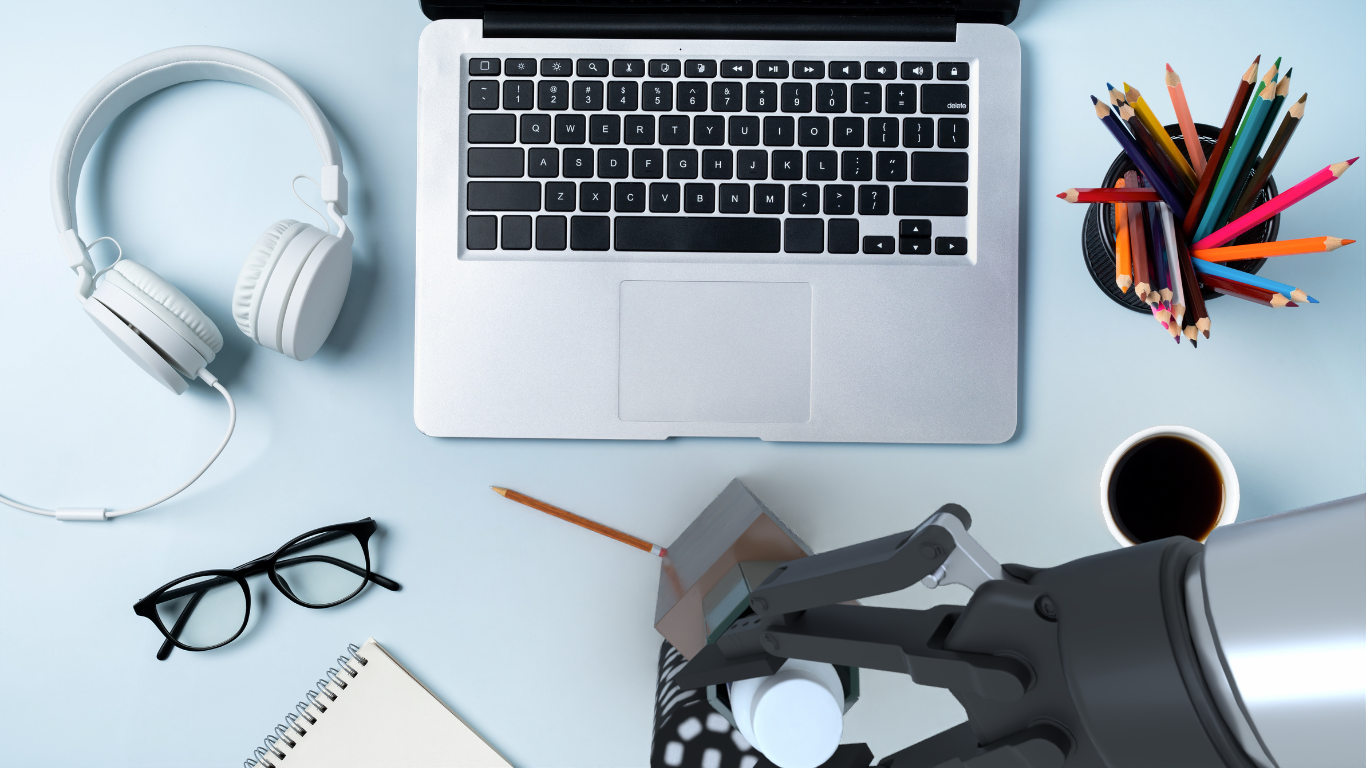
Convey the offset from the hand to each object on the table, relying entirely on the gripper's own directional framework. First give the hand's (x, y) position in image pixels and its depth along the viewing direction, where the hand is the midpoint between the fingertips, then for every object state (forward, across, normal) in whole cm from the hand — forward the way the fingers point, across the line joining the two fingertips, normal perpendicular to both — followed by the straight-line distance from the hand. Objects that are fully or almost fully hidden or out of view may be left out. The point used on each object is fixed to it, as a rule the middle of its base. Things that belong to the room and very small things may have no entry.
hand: (725, 720), depth 38 cm
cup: (+5, 0, -10) cm, 11 cm away
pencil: (+30, +10, -19) cm, 37 cm away
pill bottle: (+2, 0, -6) cm, 6 cm away
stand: (+22, 0, -27) cm, 34 cm away
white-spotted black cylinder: (+27, -7, -21) cm, 35 cm away
